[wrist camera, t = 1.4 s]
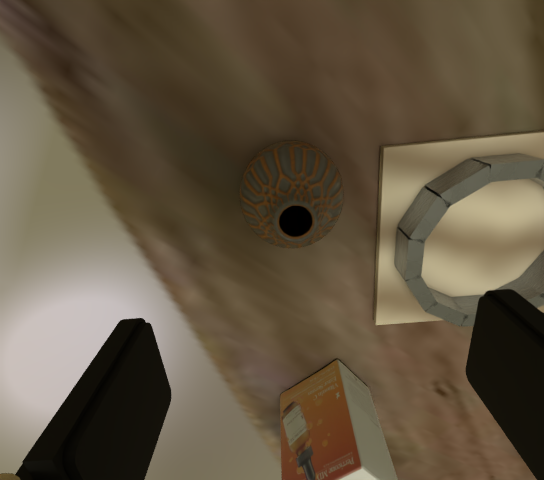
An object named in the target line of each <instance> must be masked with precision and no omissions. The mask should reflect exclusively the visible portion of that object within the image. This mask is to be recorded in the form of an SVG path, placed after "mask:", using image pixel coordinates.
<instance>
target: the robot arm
mask: <svg viewBox="0 0 544 480" xmlns="http://www.w3.org/2000/svg"><path fill="white" fill-rule="evenodd" d="M466 375H467V378H468V381H469V383H470V384H471V386H472V387H473V388H474V390H475V391H476V393H477V394H478V396H479V397H480V398H481V400H482V401H483V403H484V404H485V406H486V407H487V409H488V410H489V411H490V413H491V414H492V416H493V417H494V419H495V420H496V421H497V423H498V424H499V426H500V427H501V429H502V430H503V431H504V433H505V434H506V436H507V437H508V439H509V440H510V442H511V443H512V444H513V446H514V447H515V449H516V450H517V452H518V453H519V454H520V456H521V457H522V459H523V460H524V462H525V463H526V465H527V466H528V467H529V469H530V470H531V472H532V473H533V475H534V476H535V477H536V479H537V480H544V313H543V312H541V311H540V310H539V309H537V308H536V307H535V306H534V305H532V304H531V303H530V302H529V301H527V300H526V299H525V298H523V297H522V296H521V295H520V294H518V293H517V292H516V291H514V290H512V289H500V290H489V291H486V293H485V294H484V296H482V297H480V298H479V301H478V306H477V311H476V316H475V322H474V327H473V332H472V338H471V343H470V348H469V354H468V359H467V365H466ZM170 402H171V388H170V385H169V382H168V379H167V375H166V372H165V369H164V365H163V362H162V359H161V356H160V352H159V349H158V345H157V342H156V339H155V335H154V332H153V329H152V326H151V324H150V323H146V322H145V320H144V319H142V318H136V319H124V320H121V321H120V322H119V323H118V324H117V326H116V327H115V329H114V330H113V332H112V333H111V335H110V336H109V337H108V339H107V340H106V342H105V343H104V345H103V346H102V347H101V349H100V350H99V352H98V353H97V355H96V356H95V358H94V359H93V360H92V362H91V363H90V365H89V366H88V368H87V369H86V371H85V372H84V373H83V375H82V377H81V378H80V379H79V381H78V382H77V384H76V385H75V387H74V388H73V389H72V391H71V392H70V394H69V395H68V397H67V398H66V400H65V401H64V403H63V404H62V405H61V407H60V408H59V410H58V411H57V412H56V414H55V415H54V417H53V418H52V420H51V421H50V423H49V424H48V426H47V427H46V429H45V430H44V431H43V433H42V434H41V436H40V437H39V438H38V440H37V441H36V443H35V444H34V446H33V447H32V449H31V450H30V451H29V453H28V454H27V456H26V457H25V459H24V460H23V464H22V466H21V467H20V468H19V470H18V471H17V473H16V474H15V475H14V474H12V473H1V474H0V480H144V479H145V476H146V473H147V470H148V467H149V464H150V461H151V458H152V455H153V452H154V449H155V447H156V444H157V441H158V438H159V435H160V432H161V429H162V426H163V423H164V420H165V417H166V414H167V411H168V408H169V405H170Z"/></svg>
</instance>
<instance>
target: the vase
mask: <svg viewBox="0 0 544 480" xmlns="http://www.w3.org/2000/svg"><path fill="white" fill-rule="evenodd" d="M343 197H344V191H343V184H342V179H341V176H340V173H339V171H338V169H337V168H336V166H335V164H334V163H333V161H332V160H331V159H330V158H329V157H328V156H327V155H326V154H325V153H324V152H323V151H321V150H320V149H318V148H317V147H315V146H313V145H310V144H308V143H305V142H300V141H283V142H278V143H275V144H272V145H270V146H268V147H266V148H265V149H263V150H262V151H260V152H259V153H258V154H257V155H256V156H255V157H254V158H253V159H252V160H251V162H250V163H249V165H248V166H247V168H246V170H245V172H244V174H243V177H242V180H241V185H240V204H241V209H242V212H243V215H244V217H245V219H246V221H247V223H248V224H249V226H250V227H251V228H252V230H253V231H254V232H255V233H256V234H257V235H258V236H259V237H261V238H262V239H263V240H265V241H267V242H268V243H270V244H273V245H276V246H279V247H283V248H300V247H305V246H308V245H311V244H313V243H315V242H317V241H319V240H320V239H321V238H323V237H324V236H325V235H326V234H327V233H328V232H329V231H330V230H331V229H332V228H333V226H334V225H335V223H336V221H337V220H338V218H339V215H340V212H341V209H342V205H343Z"/></svg>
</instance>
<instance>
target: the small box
mask: <svg viewBox="0 0 544 480" xmlns="http://www.w3.org/2000/svg"><path fill="white" fill-rule="evenodd" d="M280 412H281V467H282V480H398V479H397V476H396V473H395V470H394V466H393V463H392V460H391V457H390V454H389V451H388V448H387V445H386V442H385V438H384V435H383V432H382V429H381V426H380V423H379V419H378V416H377V413H376V410H375V407H374V403H373V400H372V397H371V394H370V391H369V388H368V387H367V386H366V385H365V384H364V383H363V382H362V381H361V380H360V379H358V378H357V377H356V376H355V375H354V374H353V373H352V372H351V371H350V370H349V369H348V368H347V367H346V366H345V365H343V364H342V363H341V362H340V361H339V360H335V361H334V362H332V363H331V364H329V365H328V366H327V367H325V368H323V369H322V370H320V371H319V372H317V373H315V374H314V375H312V376H310V377H309V378H307V379H305V380H304V381H302V382H300V383H299V384H297V385H296V386H294V387H292V388H291V389H289V390H287V391H285V392H283V393H282V394H281V395H280Z"/></svg>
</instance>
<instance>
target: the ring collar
mask: <svg viewBox="0 0 544 480" xmlns="http://www.w3.org/2000/svg"><path fill="white" fill-rule="evenodd" d="M519 179H530V180H532V181H534V182H536V183H538V184H539V185H541V186H543V189H544V159H542V158H537V157H533V156H529V155H525V154H520V153H513V154H503V155H492V156H482V157H471V158H470V159H466V160H465V161H463V162H461V163H460V164H458V165H456V166H455V167H453V168H451V169H450V170H448V171H447V172H445V173H443V174H442V175H440V176H438V177H437V178H435V179H434V180H432V181H430V182H429V183H427V184H425V187H426V188H424V187H422V189H421V190H420V192H419V193H418V195H417V196H416V198H415V199H414V201H413V202H412V204H411V205H410V207H409V208H408V210H407V211H406V213H405V214H404V216H403V217H402V219H401V220H400V222H399V223H398V226H399V227H397V230H396V245H395V259H394V265H395V267H396V269H397V271H398V272H399V274H400V275H401V277H402V278H403V280H404V282H405V283H406V285H407V286H408V288H409V289H410V291H411V293H412V294H413V296H414V297H415V298H416V300H417V301H418V303H419V304H420V306H421V307H422V309H423V310H424V311H425V312H426V313H429V314H431V315H434V316H436V317H439V318H441V319H443V320H446V321H448V322H451V323H453V324H456V325H458V326H460V325H461V326H474V322H475V316H476V311H477V306H478V301H479V298H480V297H482V296H484V294H483V295H470V296H457V297H450V296H448V295H446V294H443V293H441V292H439V291H436V290H434V289H432V288H429V287H428V286H427V285H426V283H425V281H424V280H423V278H422V276H421V274H422V265H423V256H424V246H425V241H426V239H427V238H428V236H429V235H430V234H431V232H432V231H433V230H434V228H435V227H436V225H437V224H438V223H439V221H440V220H441V218H442V217H443V216H444V214H445V213H446V211H447V210H448V209H449V207H450V206H451V205H453V204H455V203H457V202H458V201H460V200H462V199H463V198H465V197H467V196H469V195H470V194H472V193H474V192H475V191H477V190H479V189H481V188H482V187H484V186H486V185H487V184H489V183H491V182H497V181H508V180H519ZM500 289H512V290H514V291H516V292H517V293H518V294H520V295H521V296H522V297H523V298H525V299H526V300H527V301H529V302H530V303H531V304H532V305H534V306H535V307H536V308H539V307H541V306H543V305H544V250H543V251H542V253H541V254H540V255H539V256H538V257H537V258H536V259H535V260H534V261H533V263H532V264H531V265H530V266H529V267H528V268H527V269H526V270H525V271H524V273H523V274H522V275H521V276H520V277H519V278H517V279H515V280H513V281H511V282H509V283H507V284H505V285H503V286H501V287H499V288H497V289H495V290H500Z"/></svg>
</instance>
